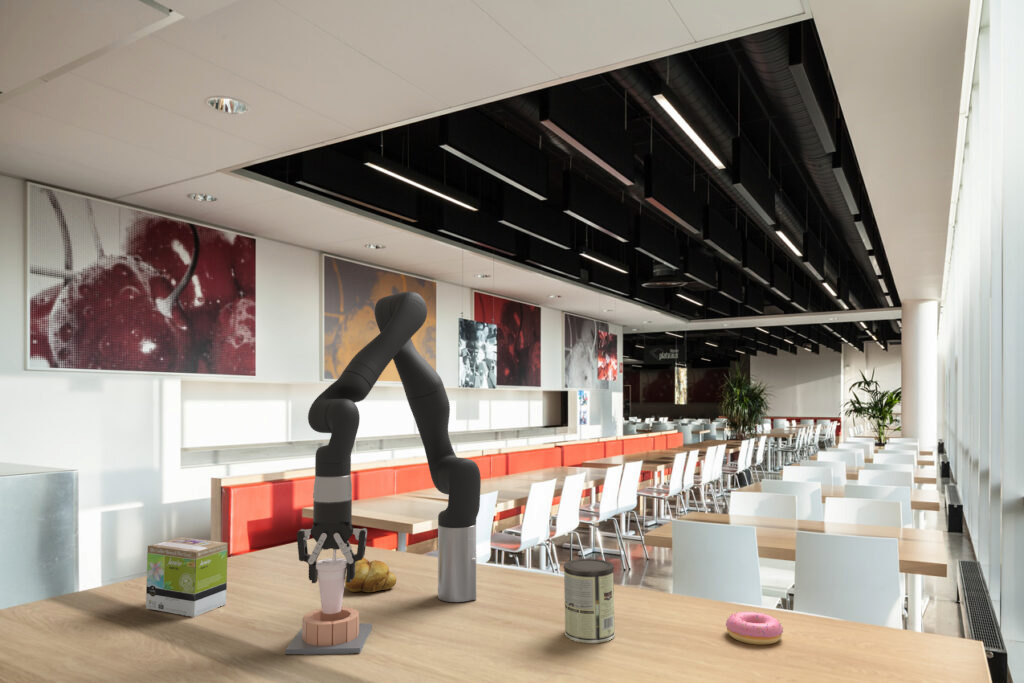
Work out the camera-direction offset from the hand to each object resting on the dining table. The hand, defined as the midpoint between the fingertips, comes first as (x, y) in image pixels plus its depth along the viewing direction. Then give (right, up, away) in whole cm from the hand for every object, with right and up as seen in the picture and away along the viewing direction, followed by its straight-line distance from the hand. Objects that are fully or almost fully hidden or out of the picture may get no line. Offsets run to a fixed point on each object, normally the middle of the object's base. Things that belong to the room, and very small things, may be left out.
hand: (331, 581), depth 141 cm
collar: (0, -12, -1) cm, 12 cm away
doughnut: (+85, -12, +1) cm, 86 cm away
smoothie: (0, -6, 0) cm, 6 cm away
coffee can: (+52, -12, +2) cm, 53 cm away
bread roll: (+1, -14, +35) cm, 37 cm away
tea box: (-39, -13, +21) cm, 46 cm away
